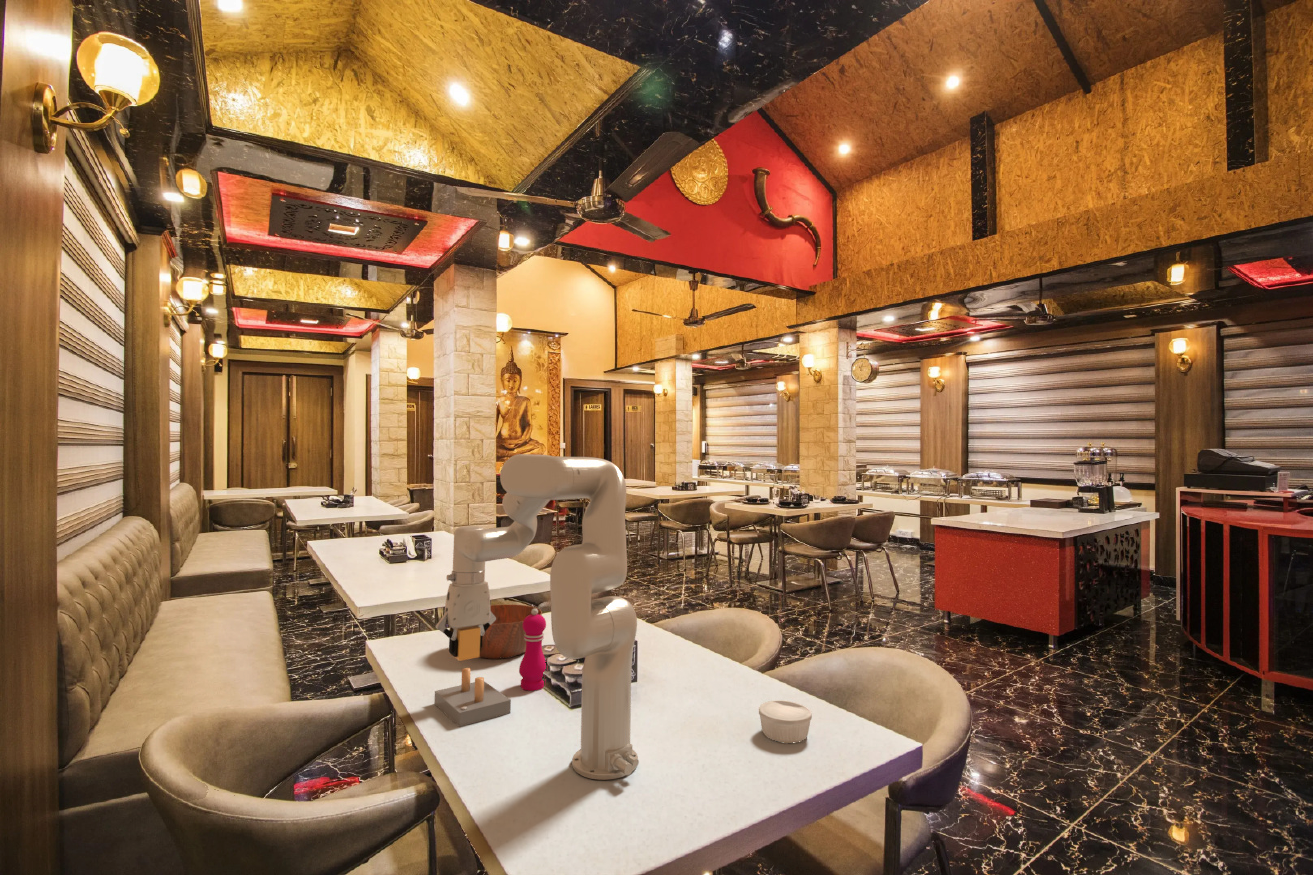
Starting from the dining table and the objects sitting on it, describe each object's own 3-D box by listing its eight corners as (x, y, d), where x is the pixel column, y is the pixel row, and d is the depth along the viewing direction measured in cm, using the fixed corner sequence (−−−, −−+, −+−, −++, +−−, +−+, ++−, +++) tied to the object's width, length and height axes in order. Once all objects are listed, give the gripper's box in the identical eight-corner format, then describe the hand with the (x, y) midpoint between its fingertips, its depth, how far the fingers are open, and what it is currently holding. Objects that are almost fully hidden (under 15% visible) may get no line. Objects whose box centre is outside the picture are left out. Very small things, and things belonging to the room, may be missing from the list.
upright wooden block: (479, 656, 143) (480, 627, 144) (459, 660, 140) (460, 630, 141) (471, 651, 147) (472, 622, 148) (451, 655, 144) (452, 626, 144)
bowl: (518, 635, 201) (519, 601, 202) (556, 653, 182) (557, 615, 182) (445, 648, 185) (446, 611, 186) (477, 670, 166) (479, 628, 167)
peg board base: (510, 713, 137) (511, 677, 138) (459, 726, 130) (460, 689, 130) (482, 692, 150) (483, 660, 150) (434, 703, 142) (435, 669, 143)
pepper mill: (550, 682, 157) (552, 605, 158) (542, 692, 150) (544, 612, 151) (523, 680, 158) (525, 604, 159) (514, 690, 151) (516, 611, 152)
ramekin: (812, 727, 132) (812, 703, 132) (811, 749, 121) (811, 723, 122) (761, 720, 135) (761, 697, 135) (756, 742, 124) (756, 716, 125)
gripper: (438, 584, 136) (435, 664, 135) (507, 576, 147) (505, 651, 146) (427, 578, 142) (424, 655, 141) (495, 571, 153) (492, 643, 152)
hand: (465, 652), depth 144 cm, fingers closed on upright wooden block, 4 cm apart
